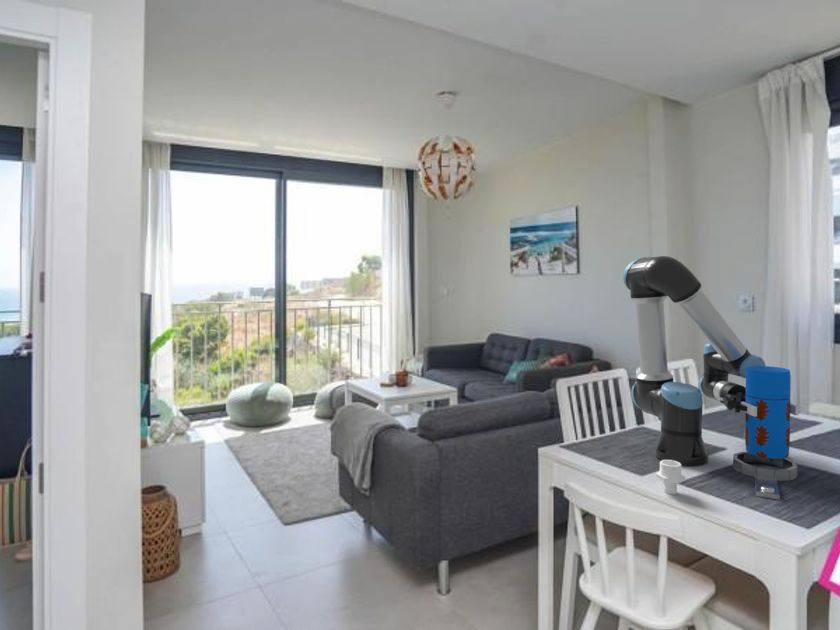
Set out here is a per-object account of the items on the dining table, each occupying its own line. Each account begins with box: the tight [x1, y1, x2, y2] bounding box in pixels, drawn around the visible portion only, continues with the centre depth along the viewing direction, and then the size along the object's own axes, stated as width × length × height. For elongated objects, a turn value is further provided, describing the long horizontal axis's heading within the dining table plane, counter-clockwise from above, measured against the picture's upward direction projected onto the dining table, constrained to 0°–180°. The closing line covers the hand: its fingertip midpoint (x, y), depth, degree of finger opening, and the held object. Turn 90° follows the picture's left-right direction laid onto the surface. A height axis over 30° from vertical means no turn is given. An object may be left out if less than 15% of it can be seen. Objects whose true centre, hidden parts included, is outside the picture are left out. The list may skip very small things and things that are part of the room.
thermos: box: [744, 365, 792, 459], centre depth 148 cm, size 11×11×25 cm
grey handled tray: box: [732, 451, 798, 501], centre depth 148 cm, size 16×41×3 cm, turn 148°
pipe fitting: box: [655, 460, 686, 495], centre depth 135 cm, size 6×7×8 cm
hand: (776, 411), depth 144 cm, fingers closed on thermos, 11 cm apart
